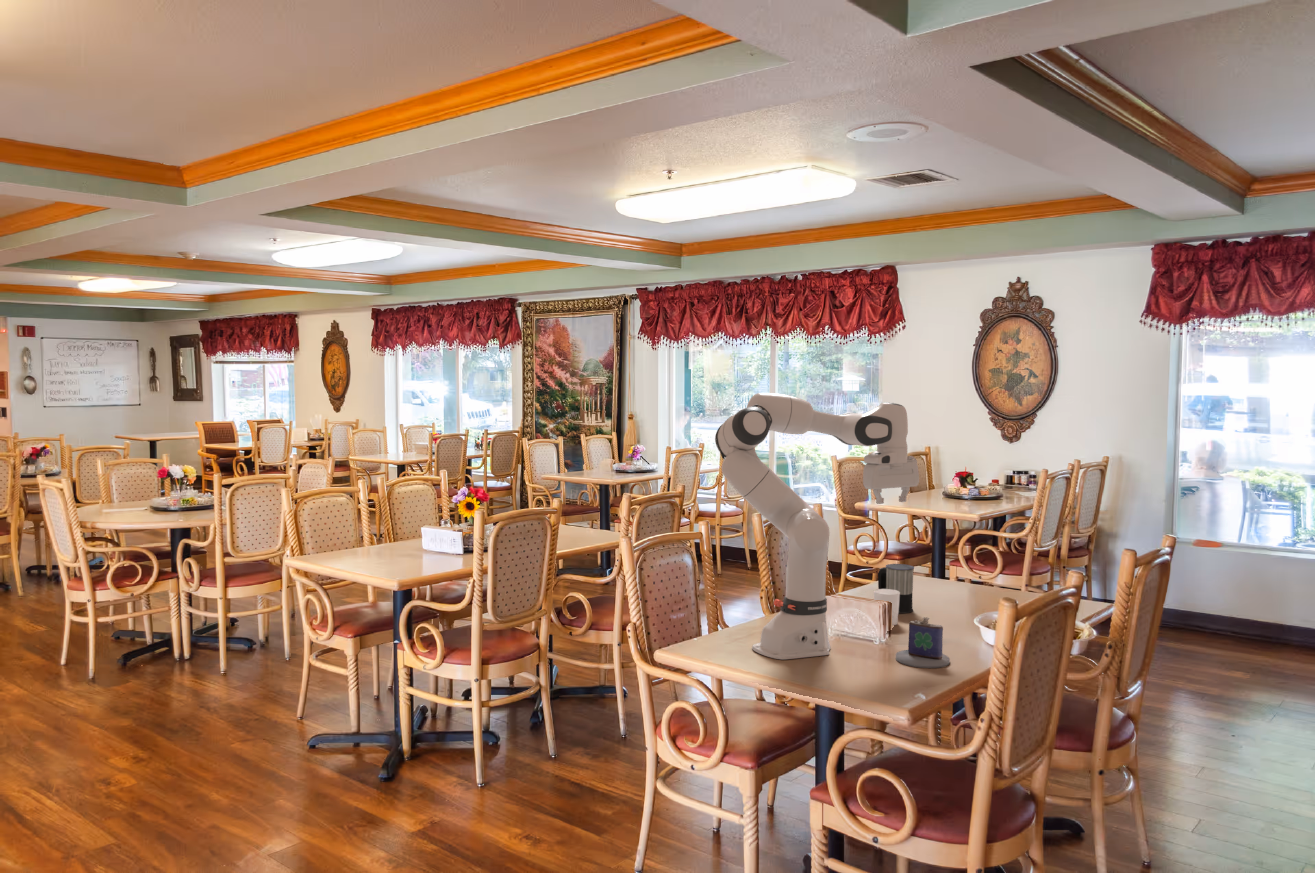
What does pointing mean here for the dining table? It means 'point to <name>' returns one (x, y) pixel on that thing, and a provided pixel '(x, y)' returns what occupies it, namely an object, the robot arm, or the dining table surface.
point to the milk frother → (898, 583)
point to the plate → (921, 660)
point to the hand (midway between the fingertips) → (891, 502)
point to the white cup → (891, 597)
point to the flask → (925, 639)
